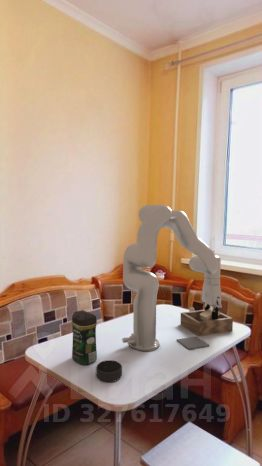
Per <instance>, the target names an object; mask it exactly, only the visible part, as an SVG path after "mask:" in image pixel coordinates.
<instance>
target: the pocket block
mask: <svg viewBox="0 0 262 466" xmlns="http://www.w3.org/2000/svg"><path fill="white" fill-rule="evenodd" d="M204 311H205V309H199V310H198V309H197V310H194V311H190V312H189V311H185V312H184V311H183V312H180V326H182V327H184V328H185V329H187V330H189V332H192V333H193V334H194V335H195V336H197V337H202V336H208V335H213V334H219V333H225V332H231V331H233V325H234V321H233V320H234V318H233V317H231V316H229V315H228V314H225V313H223V312H221V311H219V312H220V315H219V316H218V319H215V320H208V321H203V320H202V319H201V317H200V314H201V313H202V312H204ZM199 320H202V321H201V322H200V321H199Z"/></svg>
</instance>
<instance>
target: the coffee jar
mask: <svg viewBox="0 0 262 466" xmlns="http://www.w3.org/2000/svg"><path fill="white" fill-rule="evenodd" d="M71 316H72V317H71V326H72V345H71V346H72V348H71V351H72V352H71V355H72V359H73V360H74V361H75V362H77V364H79V363H80V365H82V364H84V365H91V364H93V363H94V362H95V361H97V358H98V353H97V325H98V321H97V315H96V314H93V313H91V312H89V311H87V310H84V309H81V310H77V311H74V312H73V314H72V315H71ZM90 363H91V364H90Z"/></svg>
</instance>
